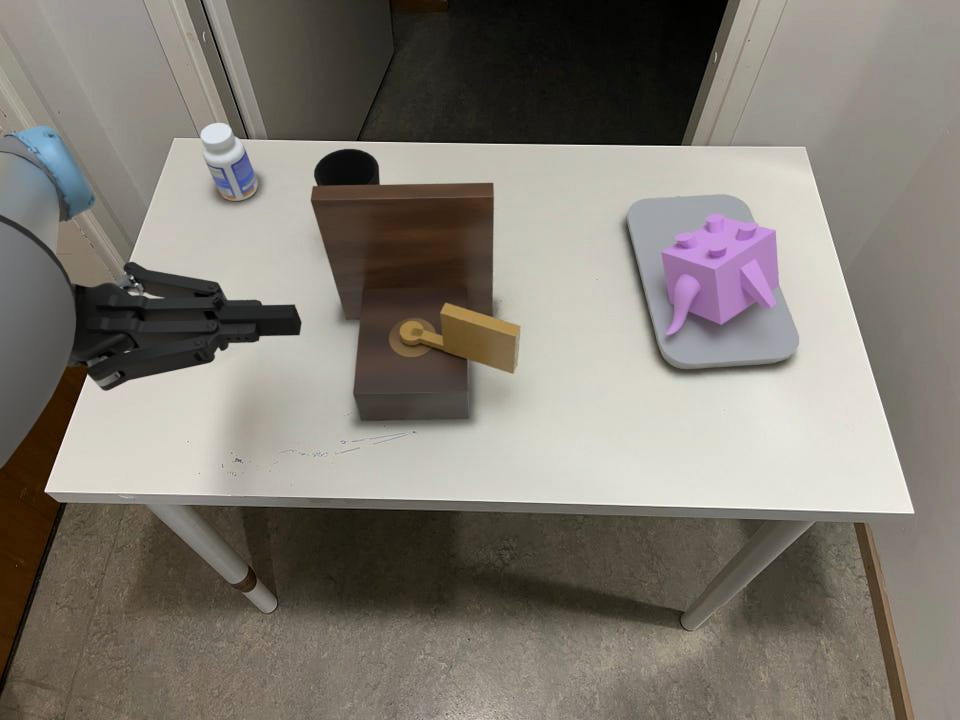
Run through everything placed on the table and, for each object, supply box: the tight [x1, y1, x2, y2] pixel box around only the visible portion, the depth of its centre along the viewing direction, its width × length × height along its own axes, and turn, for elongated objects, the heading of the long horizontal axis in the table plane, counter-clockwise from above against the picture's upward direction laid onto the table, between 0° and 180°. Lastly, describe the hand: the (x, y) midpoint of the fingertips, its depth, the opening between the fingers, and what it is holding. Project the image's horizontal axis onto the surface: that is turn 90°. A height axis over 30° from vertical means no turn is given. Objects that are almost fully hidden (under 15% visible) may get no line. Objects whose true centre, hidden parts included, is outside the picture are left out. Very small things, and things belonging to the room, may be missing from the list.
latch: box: [400, 303, 521, 375], centre depth 71 cm, size 13×3×7 cm, turn 69°
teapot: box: [661, 214, 780, 335], centre depth 77 cm, size 18×13×10 cm
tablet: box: [626, 193, 800, 370], centre depth 85 cm, size 16×26×2 cm, turn 4°
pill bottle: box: [200, 122, 259, 202], centre depth 92 cm, size 5×5×10 cm
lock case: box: [310, 182, 495, 422], centre depth 72 cm, size 16×18×20 cm
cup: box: [313, 148, 381, 186], centre depth 86 cm, size 8×8×12 cm
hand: (297, 320), depth 62 cm, fingers closed
